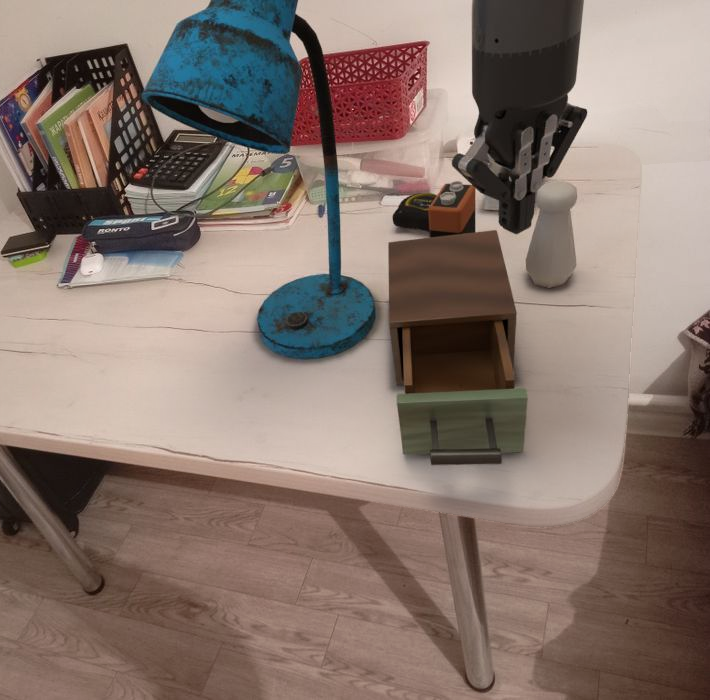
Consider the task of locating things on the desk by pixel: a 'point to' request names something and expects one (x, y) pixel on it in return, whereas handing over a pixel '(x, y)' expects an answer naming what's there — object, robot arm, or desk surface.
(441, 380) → the drawer
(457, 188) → the battery
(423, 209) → the tape measure
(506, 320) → the cabinet
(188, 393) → the desk surface
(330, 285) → the desk lamp
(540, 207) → the salt shaker
